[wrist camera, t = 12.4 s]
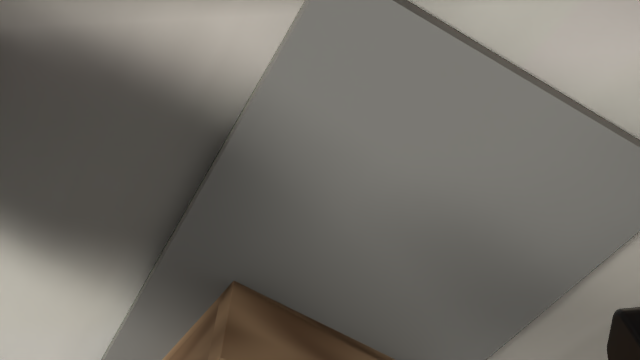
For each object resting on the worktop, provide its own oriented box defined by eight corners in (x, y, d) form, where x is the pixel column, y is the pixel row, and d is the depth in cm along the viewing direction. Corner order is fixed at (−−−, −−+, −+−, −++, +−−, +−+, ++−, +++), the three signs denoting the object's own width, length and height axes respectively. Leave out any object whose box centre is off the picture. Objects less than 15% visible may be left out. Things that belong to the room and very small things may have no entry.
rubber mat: (328, 477, 32) (328, 491, 32) (78, 400, 28) (72, 415, 28) (685, 167, 20) (697, 182, 19) (330, -45, 16) (331, -37, 15)
